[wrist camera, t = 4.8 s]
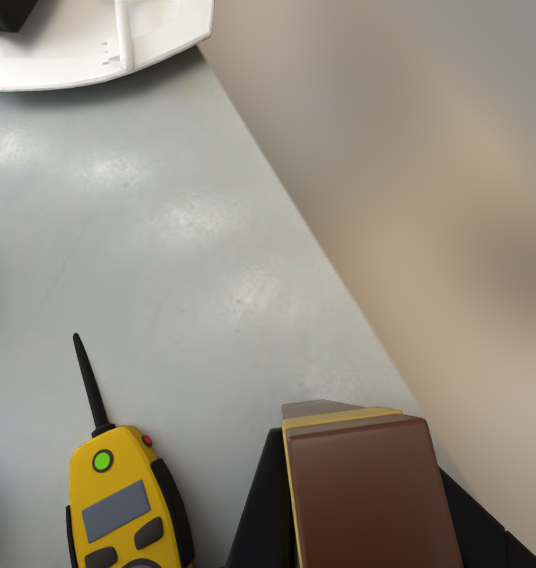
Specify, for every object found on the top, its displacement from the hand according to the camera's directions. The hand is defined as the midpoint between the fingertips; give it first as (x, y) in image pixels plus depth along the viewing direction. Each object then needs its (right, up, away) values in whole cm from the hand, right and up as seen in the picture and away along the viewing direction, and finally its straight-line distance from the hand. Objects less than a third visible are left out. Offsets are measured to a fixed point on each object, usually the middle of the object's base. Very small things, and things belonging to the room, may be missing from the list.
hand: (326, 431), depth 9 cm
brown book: (0, -2, +2) cm, 3 cm away
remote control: (-9, -5, +8) cm, 13 cm away
